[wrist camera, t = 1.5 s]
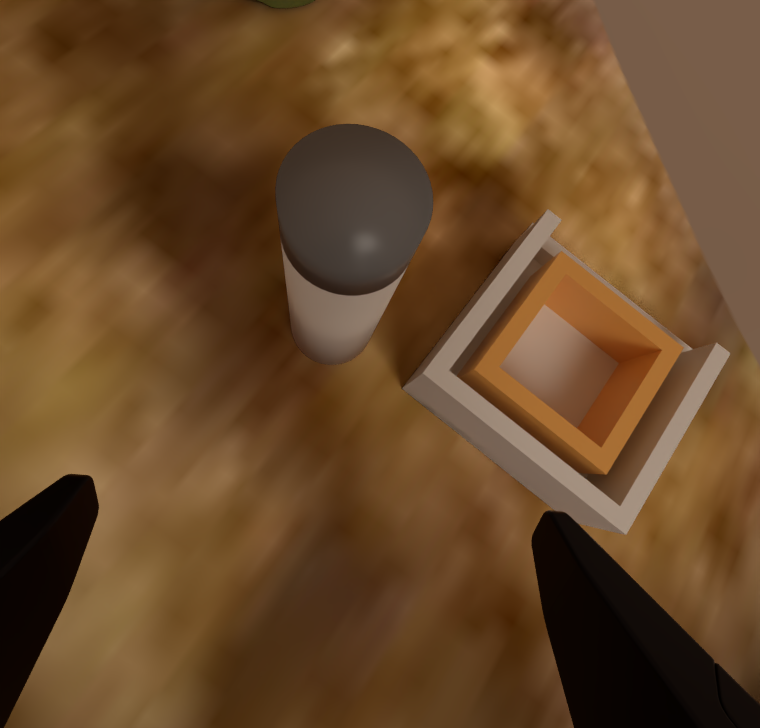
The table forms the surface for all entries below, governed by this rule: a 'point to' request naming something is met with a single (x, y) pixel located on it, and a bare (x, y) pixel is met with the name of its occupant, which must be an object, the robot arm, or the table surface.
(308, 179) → the plug
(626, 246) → the table surface
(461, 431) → the socket box
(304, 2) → the plant pot
